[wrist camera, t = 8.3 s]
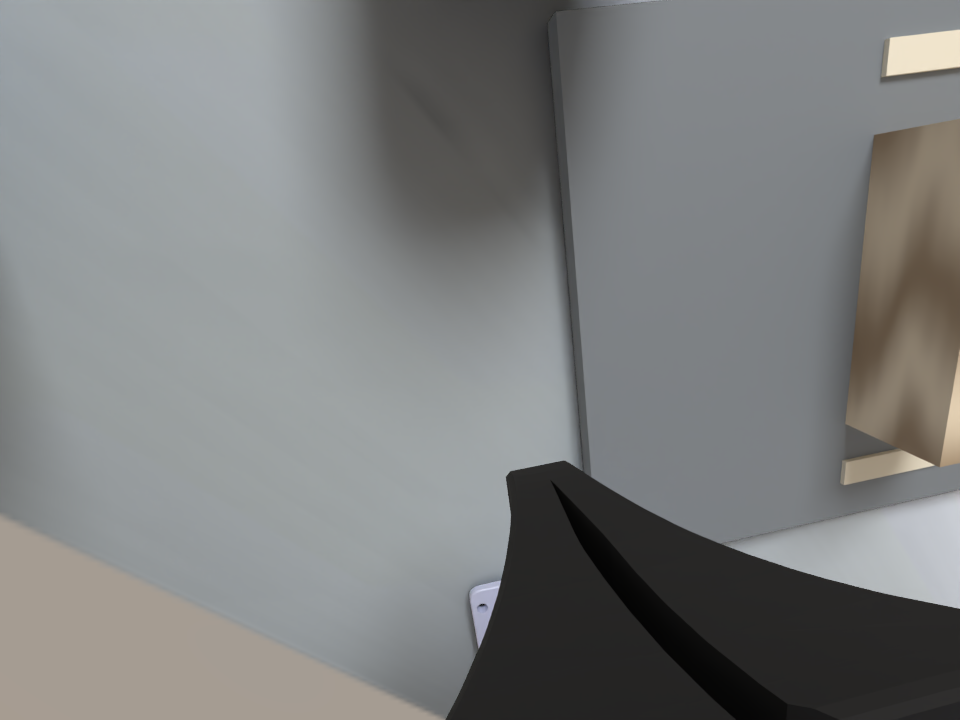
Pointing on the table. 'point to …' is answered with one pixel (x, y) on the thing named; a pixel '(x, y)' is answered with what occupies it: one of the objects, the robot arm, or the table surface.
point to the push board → (734, 245)
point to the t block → (910, 296)
